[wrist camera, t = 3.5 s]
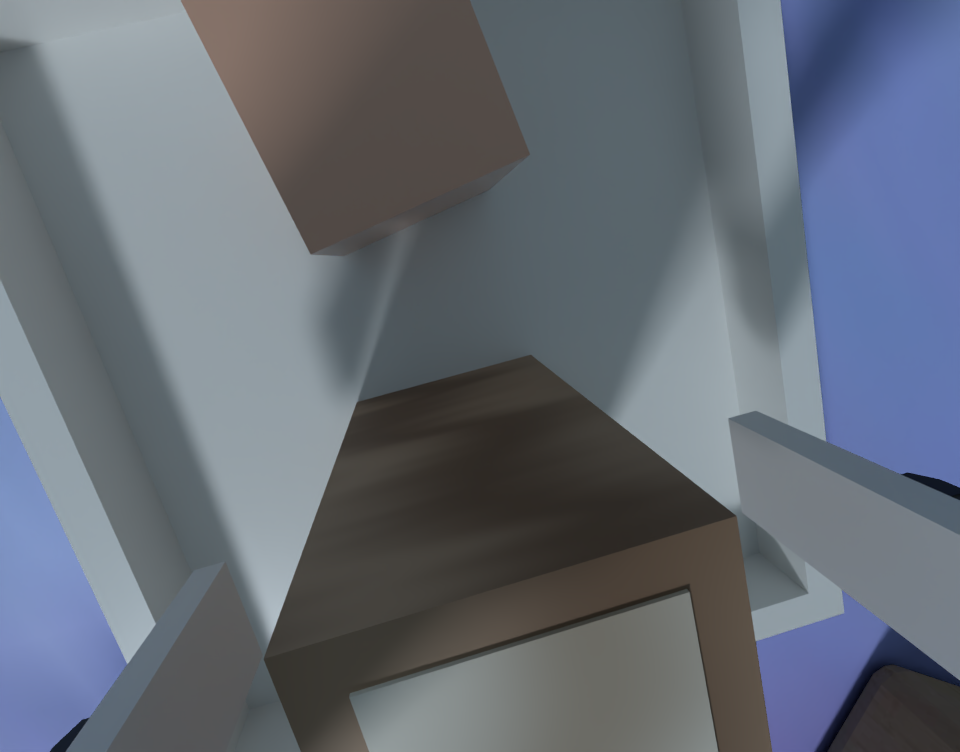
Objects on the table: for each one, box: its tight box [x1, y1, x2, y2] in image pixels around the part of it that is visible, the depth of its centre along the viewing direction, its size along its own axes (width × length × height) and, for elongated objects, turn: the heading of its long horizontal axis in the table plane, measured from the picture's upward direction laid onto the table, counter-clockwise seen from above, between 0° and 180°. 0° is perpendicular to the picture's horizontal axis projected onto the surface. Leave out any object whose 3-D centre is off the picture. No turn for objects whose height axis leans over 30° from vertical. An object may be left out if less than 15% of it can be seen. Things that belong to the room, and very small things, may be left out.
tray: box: [0, 0, 844, 752], centre depth 17 cm, size 22×24×4 cm
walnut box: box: [264, 355, 772, 752], centre depth 13 cm, size 6×6×12 cm
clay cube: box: [181, 0, 530, 256], centre depth 14 cm, size 5×5×6 cm
